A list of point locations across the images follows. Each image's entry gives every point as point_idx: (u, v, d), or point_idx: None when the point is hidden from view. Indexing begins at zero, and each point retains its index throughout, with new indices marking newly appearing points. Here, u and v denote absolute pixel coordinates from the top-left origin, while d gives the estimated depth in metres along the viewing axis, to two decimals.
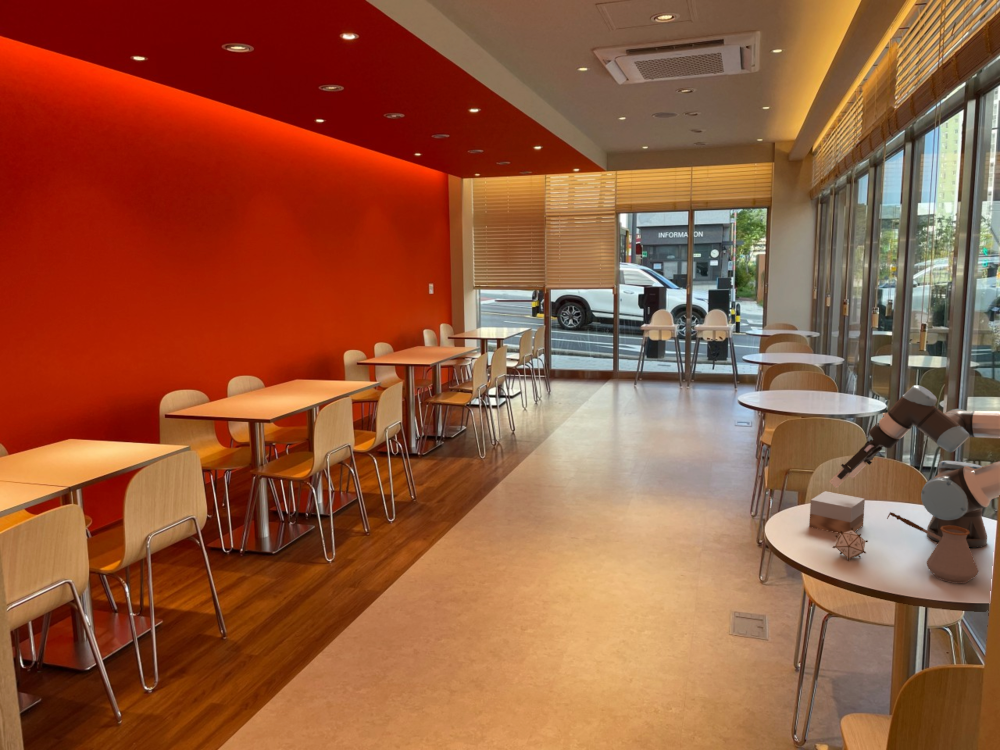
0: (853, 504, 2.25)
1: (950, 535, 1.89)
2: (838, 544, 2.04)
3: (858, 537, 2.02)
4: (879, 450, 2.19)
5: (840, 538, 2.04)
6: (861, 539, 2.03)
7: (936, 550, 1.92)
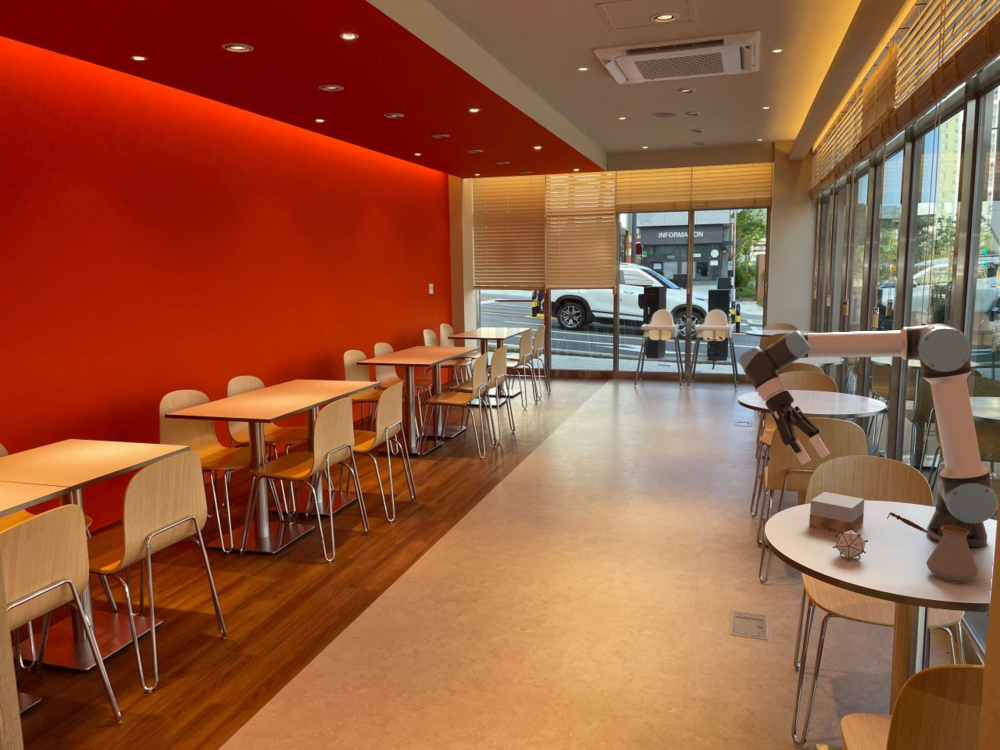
0: (853, 504, 2.24)
1: (950, 535, 1.89)
2: (838, 544, 2.04)
3: (858, 537, 2.02)
4: (794, 411, 2.16)
5: (840, 538, 2.04)
6: (861, 539, 2.03)
7: (936, 550, 1.92)
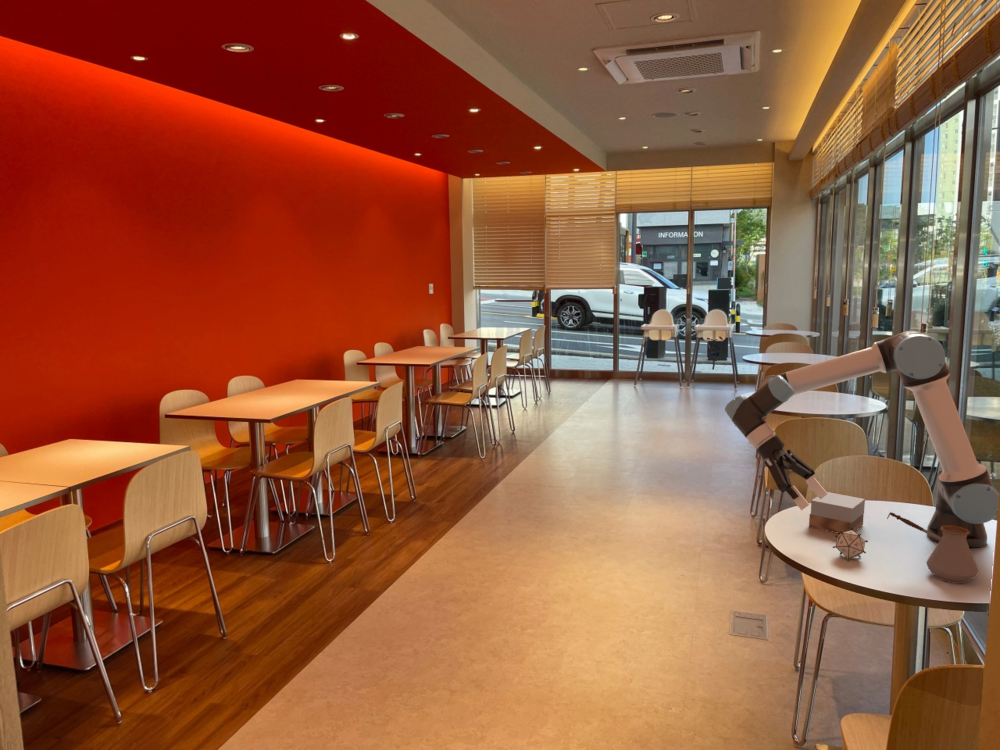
0: (854, 504, 2.25)
1: (950, 535, 1.89)
2: (838, 544, 2.04)
3: (858, 537, 2.02)
4: (786, 456, 2.15)
5: (840, 538, 2.04)
6: (861, 539, 2.03)
7: (936, 550, 1.92)
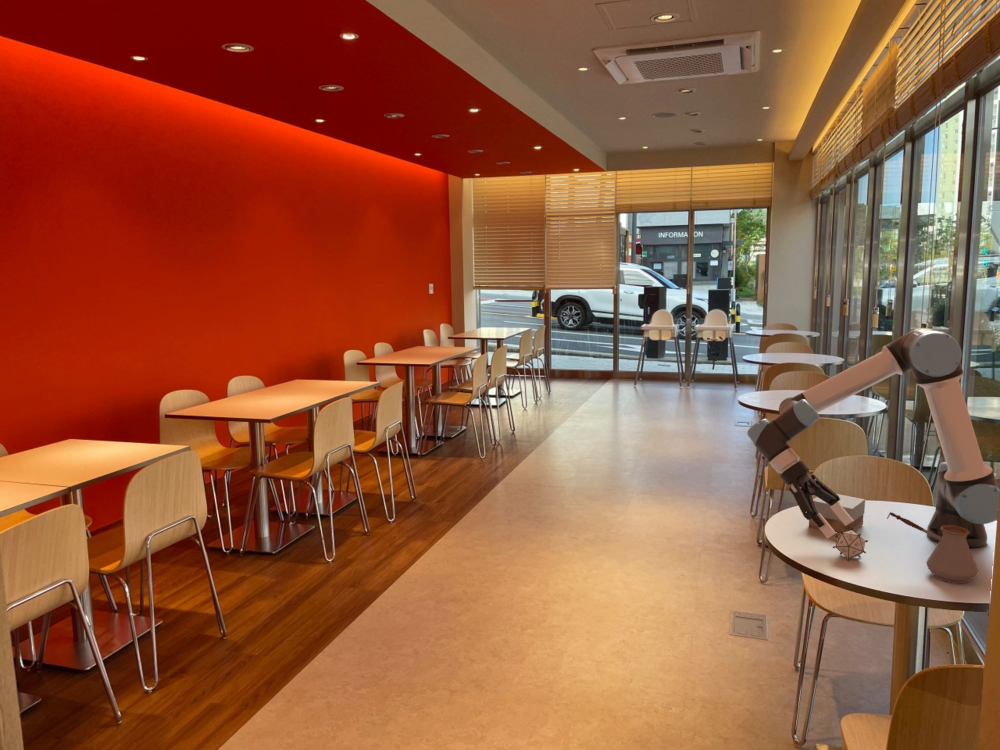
0: (854, 505, 2.24)
1: (950, 535, 1.89)
2: (838, 544, 2.04)
3: (858, 537, 2.02)
4: (811, 482, 2.11)
5: (840, 538, 2.04)
6: (861, 539, 2.03)
7: (936, 550, 1.92)
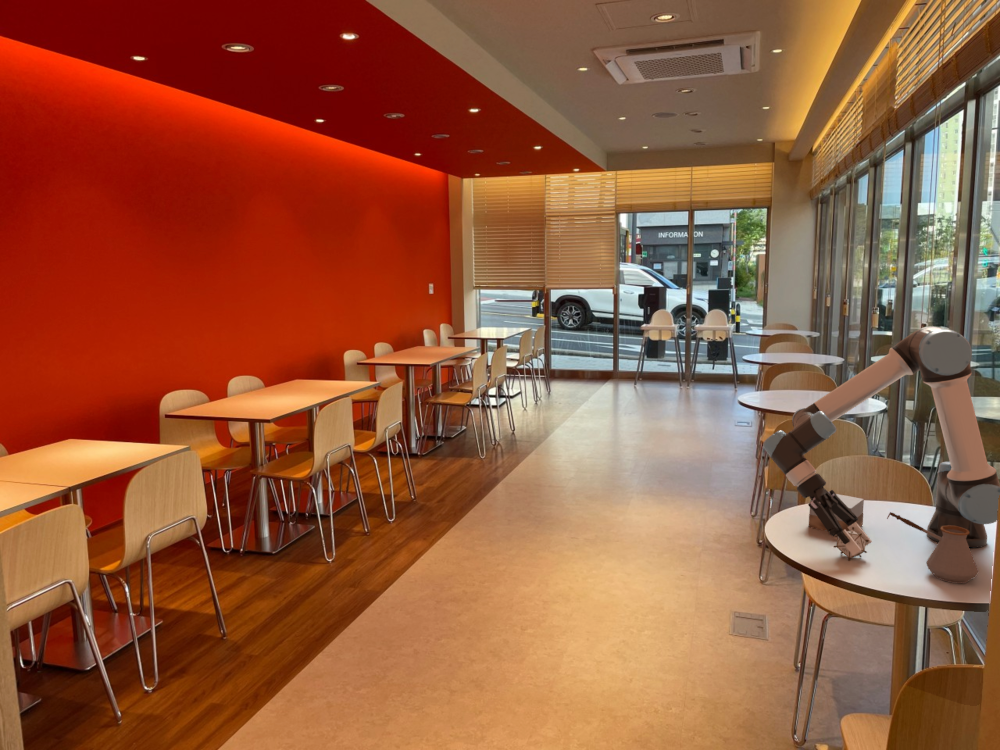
0: (852, 504, 2.24)
1: (950, 535, 1.89)
2: (839, 544, 2.05)
3: (859, 537, 2.02)
4: (827, 494, 2.08)
5: None
6: (862, 539, 2.03)
7: (936, 550, 1.92)
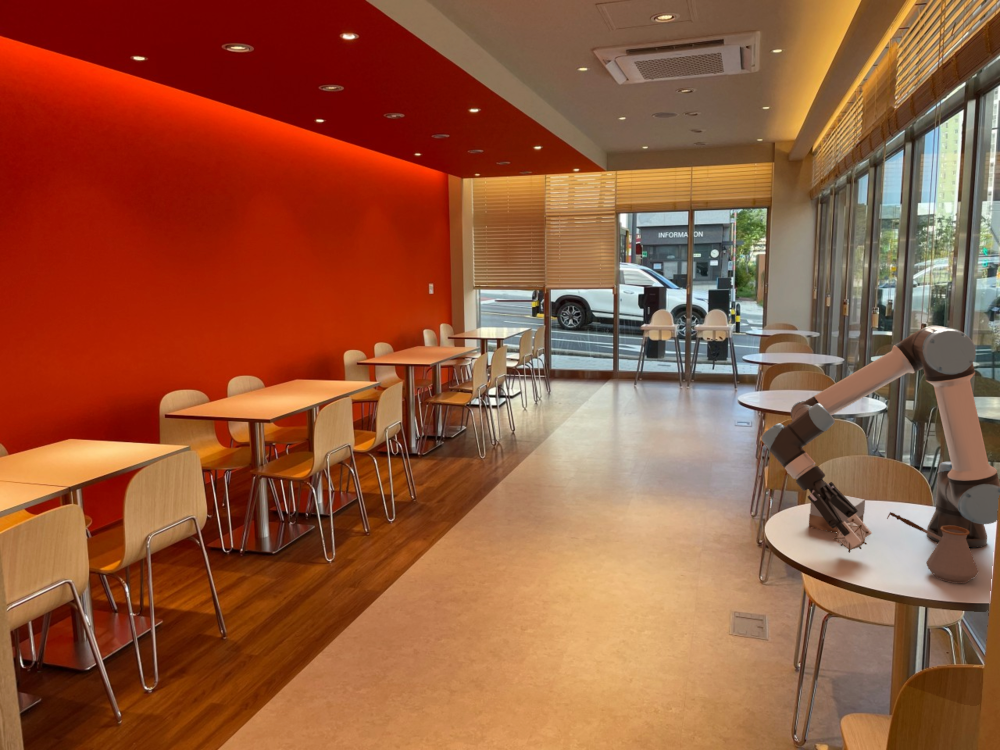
0: (853, 505, 2.24)
1: (950, 535, 1.89)
2: (839, 536, 2.05)
3: (859, 528, 2.02)
4: (826, 486, 2.08)
5: None
6: (862, 530, 2.03)
7: (936, 550, 1.92)
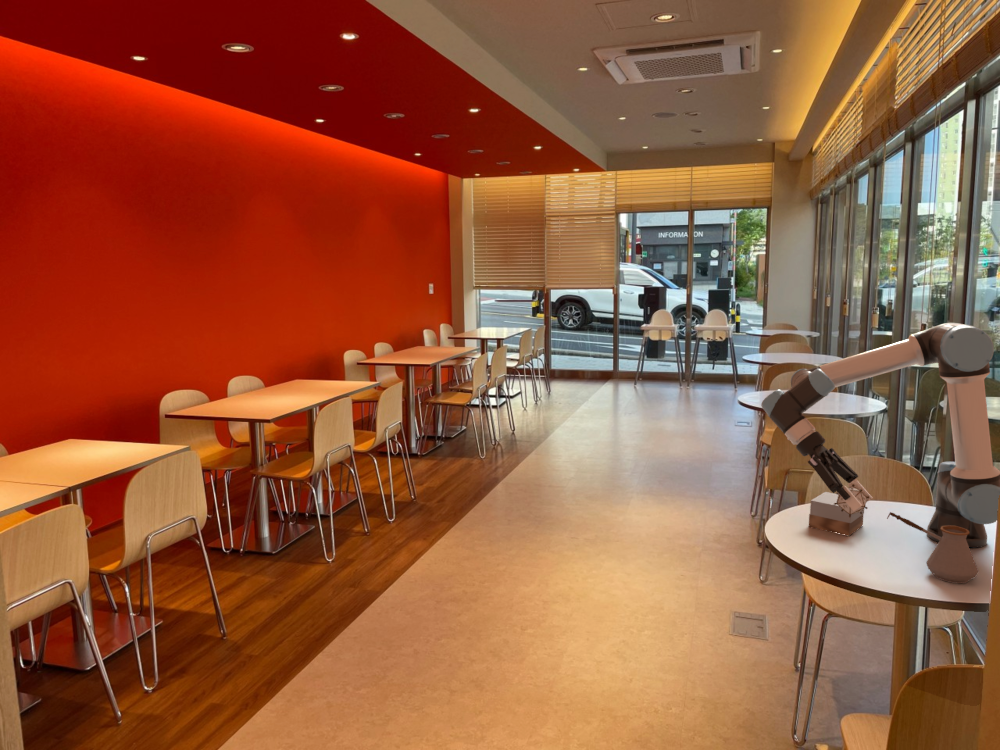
0: None
1: (950, 535, 1.89)
2: (839, 501, 2.03)
3: (859, 493, 2.01)
4: (827, 451, 2.07)
5: None
6: (862, 495, 2.02)
7: (936, 550, 1.92)
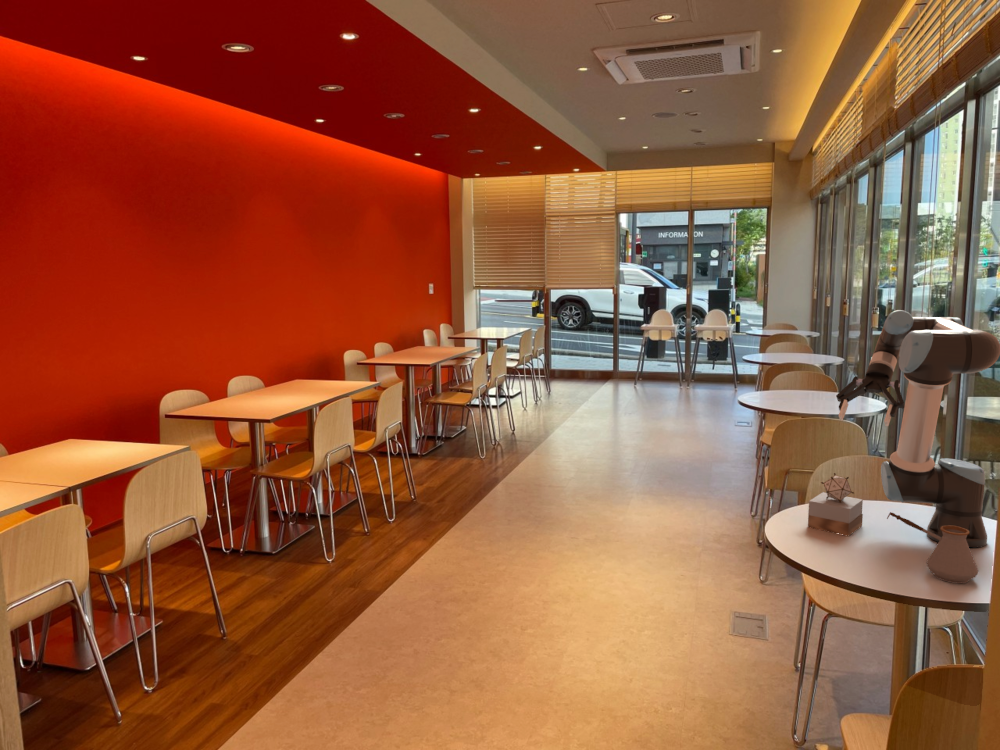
0: (851, 505, 2.24)
1: (950, 535, 1.89)
2: None
3: (831, 479, 2.28)
4: (876, 381, 2.39)
5: None
6: (834, 483, 2.27)
7: (936, 550, 1.92)
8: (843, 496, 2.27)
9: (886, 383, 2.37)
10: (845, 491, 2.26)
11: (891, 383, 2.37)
